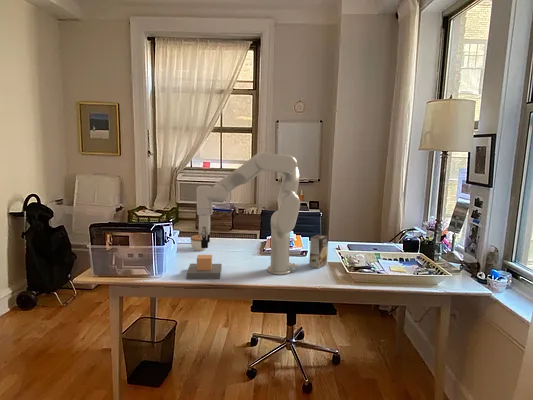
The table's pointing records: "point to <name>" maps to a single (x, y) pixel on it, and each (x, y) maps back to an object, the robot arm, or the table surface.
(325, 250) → the coffee box
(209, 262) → the plug
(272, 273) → the robot arm
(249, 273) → the table surface
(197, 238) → the lidded jar
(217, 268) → the socket
